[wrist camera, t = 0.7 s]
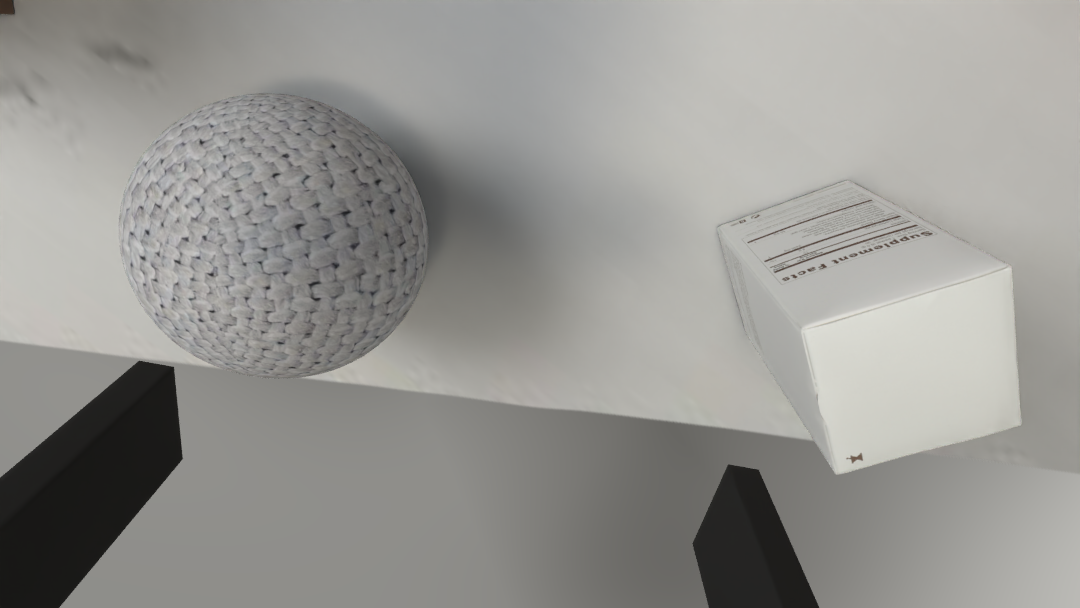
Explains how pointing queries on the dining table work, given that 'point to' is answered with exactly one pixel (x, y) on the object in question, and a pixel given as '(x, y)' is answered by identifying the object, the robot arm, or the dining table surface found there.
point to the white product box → (876, 324)
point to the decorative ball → (273, 236)
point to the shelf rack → (6, 7)
